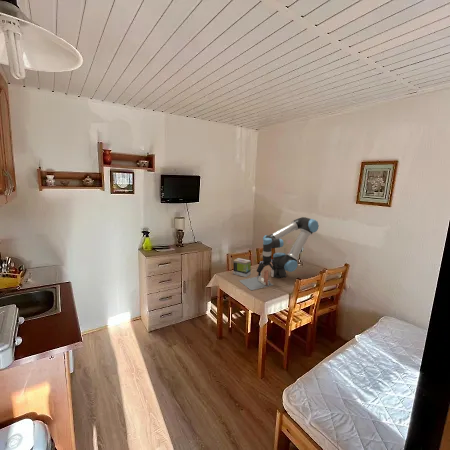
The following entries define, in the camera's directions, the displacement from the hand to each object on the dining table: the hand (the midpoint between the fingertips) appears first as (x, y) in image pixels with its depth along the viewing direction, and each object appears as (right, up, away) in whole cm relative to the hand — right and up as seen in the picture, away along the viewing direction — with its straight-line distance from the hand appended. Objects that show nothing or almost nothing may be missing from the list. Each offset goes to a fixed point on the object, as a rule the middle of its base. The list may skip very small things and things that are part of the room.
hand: (266, 277), depth 229 cm
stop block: (+1, -6, +7) cm, 9 cm away
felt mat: (-9, -6, +5) cm, 12 cm away
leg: (-2, -5, +5) cm, 7 cm away
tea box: (-20, -2, +26) cm, 33 cm away
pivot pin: (-6, -5, +12) cm, 14 cm away
